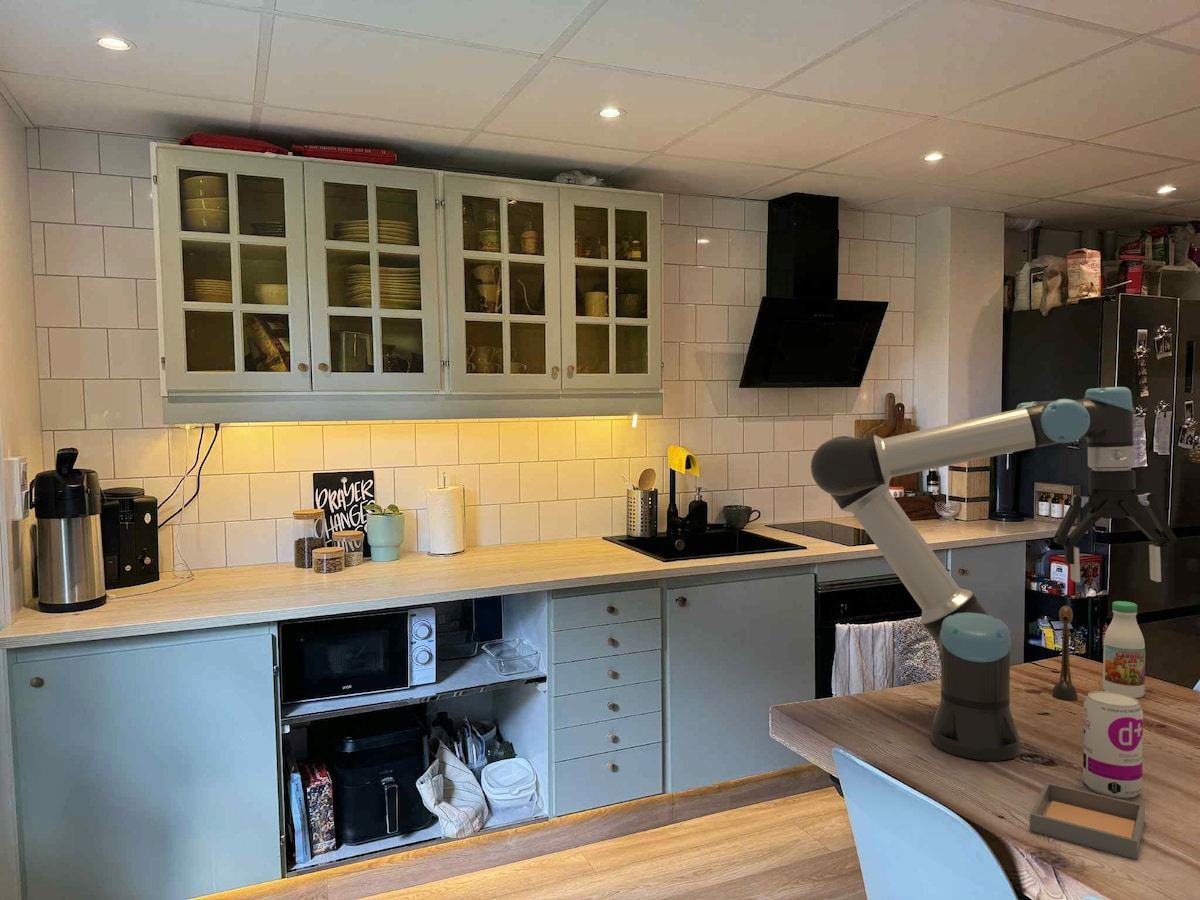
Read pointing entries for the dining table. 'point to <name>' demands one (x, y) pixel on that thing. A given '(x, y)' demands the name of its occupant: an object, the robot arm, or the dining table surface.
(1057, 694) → the wooden tabletop sculpture
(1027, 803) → the dining table surface
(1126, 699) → the supplement can
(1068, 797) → the tray
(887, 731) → the dining table surface
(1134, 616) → the milk bottle
